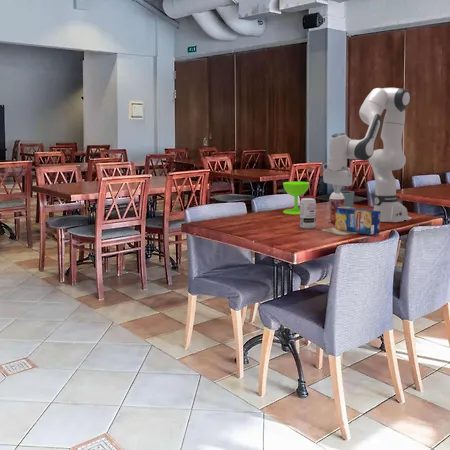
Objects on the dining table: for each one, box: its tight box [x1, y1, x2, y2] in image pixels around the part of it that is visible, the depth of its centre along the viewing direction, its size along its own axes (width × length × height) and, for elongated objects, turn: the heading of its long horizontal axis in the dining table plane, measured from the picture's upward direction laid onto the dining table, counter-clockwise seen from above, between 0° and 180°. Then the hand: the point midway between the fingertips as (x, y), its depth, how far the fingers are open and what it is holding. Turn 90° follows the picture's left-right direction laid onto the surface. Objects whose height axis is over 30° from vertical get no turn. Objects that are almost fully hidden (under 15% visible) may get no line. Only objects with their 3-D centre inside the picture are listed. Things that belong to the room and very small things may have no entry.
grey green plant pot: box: [340, 190, 355, 208], centre depth 346 cm, size 10×10×12 cm
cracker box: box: [334, 207, 381, 236], centre depth 280 cm, size 7×11×22 cm
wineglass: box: [282, 181, 310, 215], centre depth 345 cm, size 16×16×18 cm
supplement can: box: [299, 197, 317, 229], centre depth 296 cm, size 8×8×15 cm
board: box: [321, 227, 361, 237], centre depth 284 cm, size 16×15×1 cm
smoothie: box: [328, 187, 345, 224], centre depth 307 cm, size 8×8×20 cm
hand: (337, 193), depth 286 cm, fingers closed
